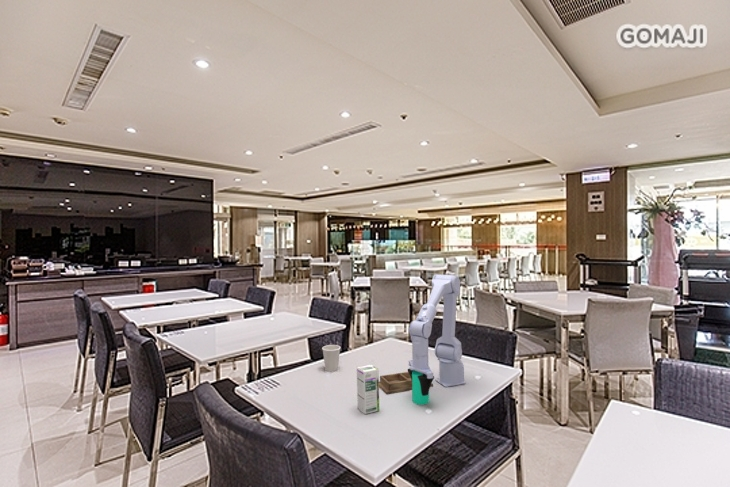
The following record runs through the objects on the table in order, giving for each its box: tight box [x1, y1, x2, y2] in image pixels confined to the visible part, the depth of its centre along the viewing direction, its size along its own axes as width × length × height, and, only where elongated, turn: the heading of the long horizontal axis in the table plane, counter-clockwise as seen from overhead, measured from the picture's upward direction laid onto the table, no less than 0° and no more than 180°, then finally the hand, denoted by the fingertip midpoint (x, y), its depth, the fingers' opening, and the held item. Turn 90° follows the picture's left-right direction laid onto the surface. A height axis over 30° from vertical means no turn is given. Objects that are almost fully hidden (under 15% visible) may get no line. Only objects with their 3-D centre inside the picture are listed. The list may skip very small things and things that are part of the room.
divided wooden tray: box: [379, 371, 434, 395], centre depth 148 cm, size 20×10×4 cm, turn 111°
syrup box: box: [356, 364, 380, 415], centre depth 127 cm, size 6×6×14 cm
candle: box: [411, 370, 430, 406], centre depth 133 cm, size 6×6×12 cm
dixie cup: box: [321, 344, 341, 373], centre depth 167 cm, size 8×8×10 cm
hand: (420, 391), depth 133 cm, fingers closed on candle, 6 cm apart
